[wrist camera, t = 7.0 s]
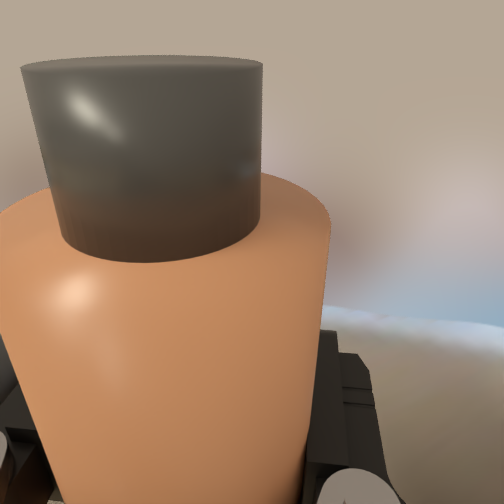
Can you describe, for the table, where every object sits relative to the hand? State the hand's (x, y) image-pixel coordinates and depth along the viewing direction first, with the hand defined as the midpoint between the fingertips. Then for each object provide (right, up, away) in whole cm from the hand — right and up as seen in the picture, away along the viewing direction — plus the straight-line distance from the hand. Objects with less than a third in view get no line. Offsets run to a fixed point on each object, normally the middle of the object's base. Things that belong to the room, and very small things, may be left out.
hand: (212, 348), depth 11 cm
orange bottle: (0, -8, +2) cm, 8 cm away
